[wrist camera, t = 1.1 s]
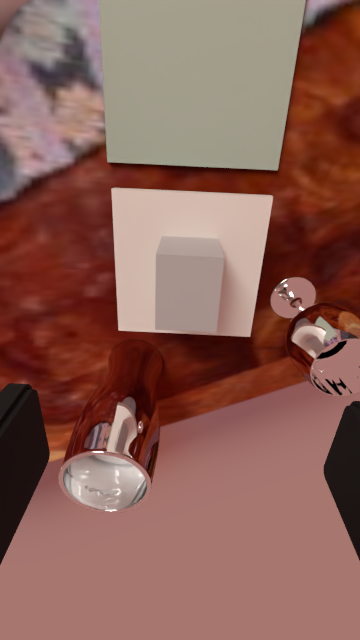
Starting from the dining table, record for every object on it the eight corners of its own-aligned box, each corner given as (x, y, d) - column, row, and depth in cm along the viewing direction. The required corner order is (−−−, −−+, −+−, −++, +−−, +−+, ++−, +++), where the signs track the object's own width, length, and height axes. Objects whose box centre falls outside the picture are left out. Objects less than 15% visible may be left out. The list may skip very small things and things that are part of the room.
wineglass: (256, 318, 33) (289, 396, 22) (273, 265, 30) (319, 323, 20) (310, 327, 33) (369, 407, 22) (331, 275, 31) (408, 338, 20)
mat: (276, 170, 27) (277, 170, 26) (108, 162, 27) (107, 162, 26) (315, -73, 20) (318, -79, 20) (96, -84, 20) (93, -89, 20)
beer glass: (123, 324, 34) (80, 434, 20) (179, 355, 35) (173, 476, 22) (94, 369, 36) (39, 492, 23) (146, 396, 38) (124, 526, 24)
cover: (248, 332, 27) (262, 372, 22) (120, 326, 27) (104, 365, 22) (270, 195, 22) (295, 206, 17) (113, 187, 22) (91, 196, 17)
